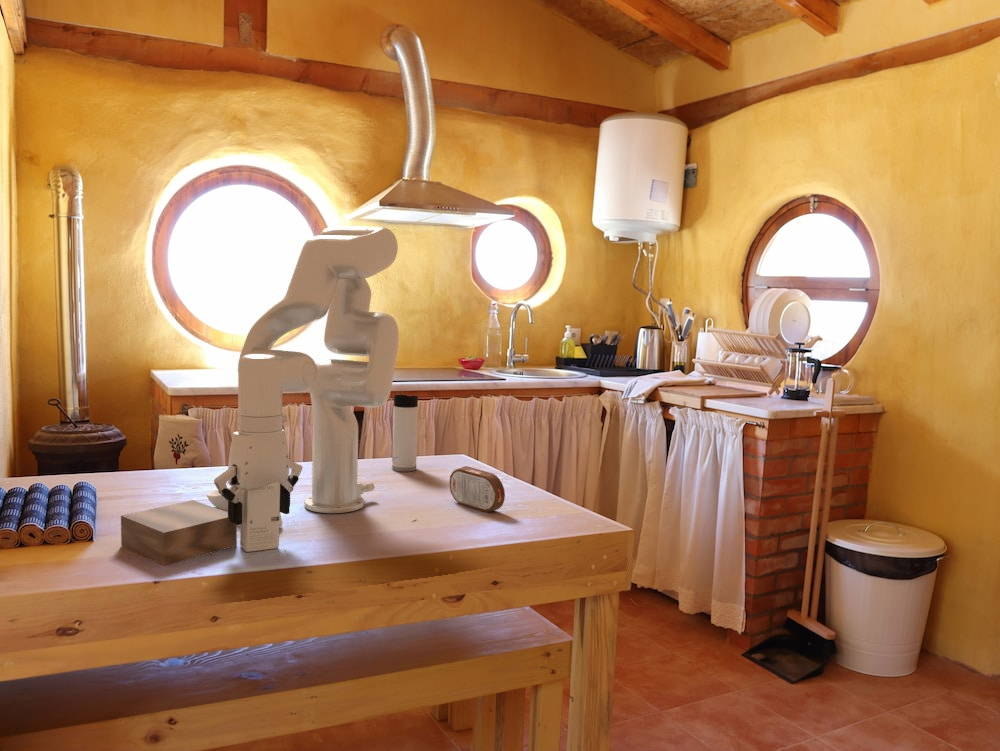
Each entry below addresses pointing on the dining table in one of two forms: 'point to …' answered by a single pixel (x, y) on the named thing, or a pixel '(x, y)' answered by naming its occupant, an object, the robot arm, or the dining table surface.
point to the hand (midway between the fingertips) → (259, 517)
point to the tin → (477, 489)
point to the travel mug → (405, 433)
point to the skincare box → (260, 518)
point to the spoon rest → (226, 502)
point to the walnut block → (177, 531)
